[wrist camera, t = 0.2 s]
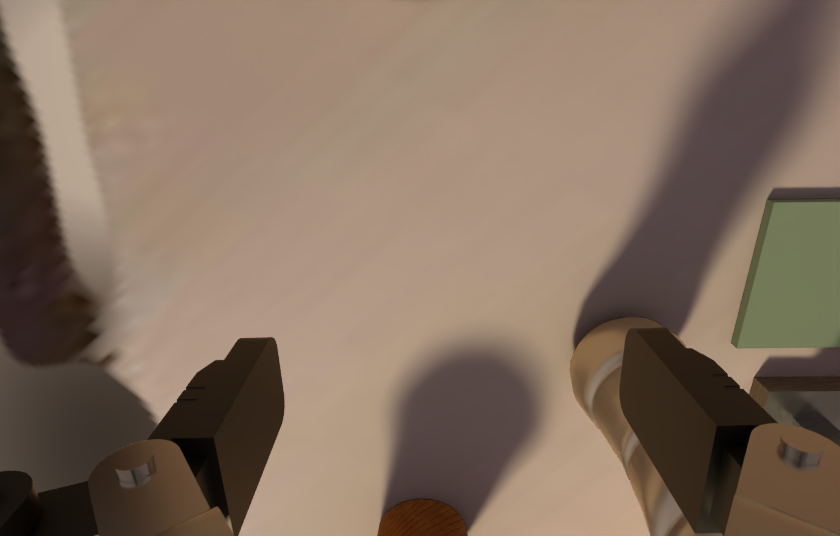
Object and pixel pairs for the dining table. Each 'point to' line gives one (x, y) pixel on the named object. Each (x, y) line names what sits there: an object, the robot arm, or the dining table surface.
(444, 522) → the disposable coffee cup
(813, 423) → the rail stand
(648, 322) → the plastic bottle
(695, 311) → the dining table surface
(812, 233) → the rubber mat
